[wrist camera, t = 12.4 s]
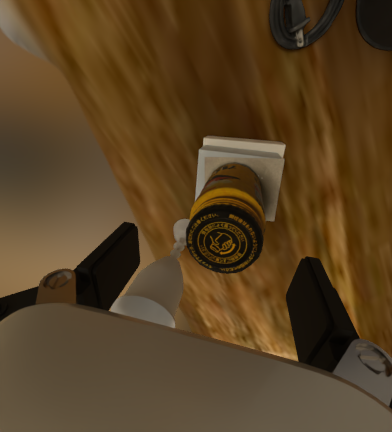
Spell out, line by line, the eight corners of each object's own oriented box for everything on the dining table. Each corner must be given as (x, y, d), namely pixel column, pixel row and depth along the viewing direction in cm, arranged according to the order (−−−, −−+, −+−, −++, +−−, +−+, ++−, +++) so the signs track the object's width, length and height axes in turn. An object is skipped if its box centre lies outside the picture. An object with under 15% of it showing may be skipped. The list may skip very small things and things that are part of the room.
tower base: (208, 135, 29) (203, 137, 26) (281, 141, 28) (285, 145, 24) (203, 198, 34) (198, 208, 31) (265, 207, 32) (267, 218, 29)
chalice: (177, 250, 39) (131, 342, 24) (161, 220, 37) (98, 300, 21) (212, 241, 37) (186, 338, 21) (197, 209, 34) (155, 290, 19)
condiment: (204, 156, 23) (169, 193, 13) (284, 158, 21) (320, 202, 11) (204, 214, 26) (176, 281, 16) (273, 220, 25) (293, 299, 14)
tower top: (205, 144, 26) (199, 149, 23) (277, 152, 25) (282, 159, 21) (199, 207, 30) (193, 219, 27) (261, 217, 29) (263, 231, 25)
